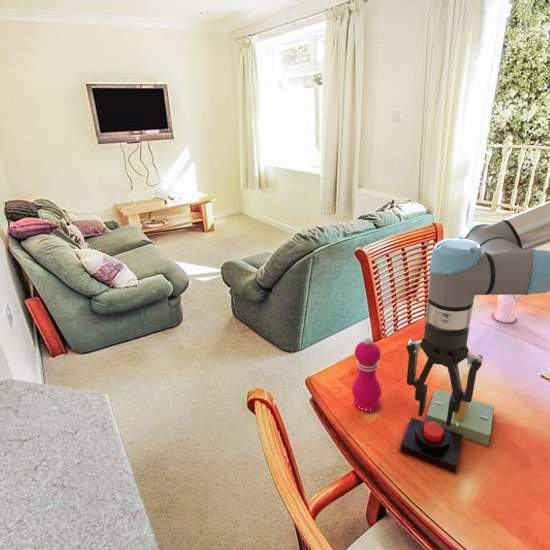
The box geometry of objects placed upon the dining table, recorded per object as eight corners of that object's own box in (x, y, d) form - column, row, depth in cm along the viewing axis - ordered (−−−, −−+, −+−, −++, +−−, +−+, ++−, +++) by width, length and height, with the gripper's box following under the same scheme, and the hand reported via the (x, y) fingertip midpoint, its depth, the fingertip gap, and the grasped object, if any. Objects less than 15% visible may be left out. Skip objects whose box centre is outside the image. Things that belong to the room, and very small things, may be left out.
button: (444, 431, 81) (445, 425, 81) (440, 445, 78) (441, 439, 78) (425, 425, 84) (425, 419, 83) (421, 438, 80) (421, 432, 80)
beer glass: (491, 320, 126) (498, 280, 120) (493, 311, 131) (501, 272, 125) (515, 325, 122) (524, 284, 116) (517, 315, 127) (525, 275, 121)
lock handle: (458, 399, 91) (462, 371, 87) (467, 401, 90) (472, 374, 86) (453, 418, 85) (457, 390, 82) (463, 421, 84) (467, 393, 81)
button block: (461, 441, 83) (464, 428, 81) (455, 473, 76) (457, 459, 75) (410, 424, 89) (412, 411, 87) (400, 452, 82) (401, 438, 80)
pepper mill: (382, 415, 92) (385, 347, 84) (352, 413, 93) (352, 346, 85) (379, 394, 98) (382, 330, 90) (351, 393, 100) (352, 329, 92)
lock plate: (492, 413, 90) (494, 403, 88) (487, 447, 81) (490, 437, 80) (435, 396, 96) (436, 386, 95) (425, 426, 88) (426, 415, 86)
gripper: (392, 320, 71) (387, 413, 81) (500, 344, 62) (480, 446, 71) (403, 303, 77) (397, 392, 86) (503, 322, 68) (484, 419, 77)
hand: (435, 416), depth 79 cm, fingers open, 5 cm apart
